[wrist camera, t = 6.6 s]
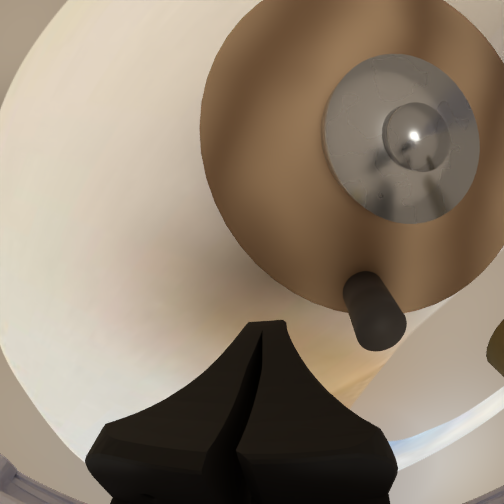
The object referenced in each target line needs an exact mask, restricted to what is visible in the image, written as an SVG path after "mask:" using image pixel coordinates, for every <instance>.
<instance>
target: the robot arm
mask: <svg viewBox="0 0 504 504" xmlns="http://www.w3.org/2000/svg"><path fill="white" fill-rule="evenodd" d="M85 463H86V466H87V468H88V470H89V471H90V473H91V474H92V476H93V477H94V478H95V479H96V480H97V481H98V482H99V484H100V485H101V486H102V487H103V488H104V489H105V490H106V491H107V492H108V493H109V494H110V495H111V496H112V497H113V498H112V501H111V503H110V504H390V501H389V494H388V493H389V491H390V489H391V487H392V484H393V482H394V480H395V478H396V476H397V471H398V466H397V462H396V459H395V456H394V454H393V451H392V449H391V447H390V445H389V443H388V441H387V439H386V438H385V436H384V434H383V432H382V431H381V429H380V428H378V427H377V426H375V425H373V424H371V423H370V422H368V421H366V420H364V419H362V418H361V417H359V416H358V415H356V414H355V413H354V412H352V411H351V410H350V409H348V408H347V407H345V406H344V405H343V404H342V403H341V402H340V401H338V400H337V399H336V398H335V397H334V396H333V395H332V394H330V393H329V392H328V391H327V390H326V389H325V388H324V387H323V386H322V385H321V383H320V382H319V381H318V380H317V379H316V378H315V377H314V375H313V374H312V373H311V372H310V370H309V369H308V368H307V366H306V365H305V363H304V362H303V360H302V359H301V357H300V356H299V354H298V352H297V350H296V349H295V347H294V345H293V343H292V341H291V339H290V336H289V334H288V331H287V326H286V322H285V321H284V320H275V321H260V322H248V323H247V324H246V326H245V327H244V328H243V329H242V331H241V332H240V333H239V335H238V336H237V337H236V338H235V340H234V341H233V342H232V343H231V344H230V346H229V347H228V348H227V349H226V350H225V351H224V352H223V354H222V355H221V356H220V357H219V358H218V359H217V360H216V361H215V362H214V363H213V364H212V365H211V366H210V367H209V368H208V369H207V370H206V371H204V372H203V373H202V374H201V375H200V376H198V377H197V378H196V379H195V380H193V381H192V382H191V383H189V384H188V385H187V386H185V387H184V388H182V389H181V390H179V391H177V392H176V393H174V394H173V395H171V396H170V397H168V398H166V399H165V400H163V401H161V402H159V403H157V404H155V405H153V406H151V407H149V408H147V409H145V410H143V411H140V412H138V413H136V414H133V415H130V416H128V417H125V418H122V419H119V420H116V421H113V422H110V423H107V424H105V426H104V427H103V429H102V430H101V432H100V434H99V435H98V437H97V439H96V440H95V442H94V444H93V446H92V447H91V449H90V451H89V453H88V454H87V456H86V459H85ZM0 504H87V503H84V502H81V501H79V500H77V499H74V498H72V497H69V496H67V495H65V494H62V493H60V492H58V491H56V490H54V489H52V488H49V487H47V486H45V485H43V484H41V483H39V482H37V481H35V480H33V479H32V478H30V477H28V476H26V475H24V474H22V473H21V472H19V471H17V469H16V468H15V467H14V465H13V464H12V463H11V462H10V461H9V460H8V459H7V458H6V457H5V456H3V455H2V454H0ZM463 504H504V485H503V486H501V487H499V488H497V489H495V490H493V491H491V492H489V493H487V494H484V495H482V496H480V497H478V498H475V499H473V500H471V501H468V502H466V503H463Z"/></svg>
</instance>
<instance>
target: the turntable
mask: <svg viewBox="0 0 504 504" xmlns="http://www.w3.org/2000/svg"><path fill="white" fill-rule="evenodd" d="M385 54H404V55H410V56H414V57H417V58H420V59H422V60H425V61H427V62H429V63H431V64H433V65H434V66H436V67H437V68H439V69H440V70H442V71H443V72H444V73H445V74H447V75H448V76H449V77H450V78H451V79H452V80H453V81H454V82H455V83H456V85H457V86H458V87H459V88H460V90H461V91H462V92H463V94H464V96H465V97H466V99H467V101H468V102H469V105H470V107H471V109H472V111H473V114H474V117H475V120H476V123H477V128H478V133H479V142H480V153H479V162H478V166H477V171H476V174H475V177H474V180H473V182H472V184H471V186H470V188H469V190H468V191H467V193H466V194H465V196H464V197H463V199H462V200H461V201H460V202H459V203H458V204H457V205H456V206H455V207H454V208H453V209H452V210H450V211H449V212H448V213H446V214H444V215H443V216H441V217H439V218H437V219H434V220H432V221H428V222H425V223H418V224H403V223H397V222H392V221H389V220H386V219H383V218H381V217H379V216H377V215H375V214H373V213H372V212H370V211H369V210H367V209H366V208H364V207H363V206H362V205H360V204H359V203H358V202H356V201H355V200H354V199H353V198H352V197H350V196H349V195H348V194H347V193H346V192H345V191H344V190H343V189H342V188H341V186H340V185H339V184H338V182H337V181H336V180H335V178H334V176H333V175H332V173H331V171H330V169H329V167H328V165H327V162H326V160H325V156H324V153H323V149H322V143H321V120H322V115H323V111H324V107H325V105H326V102H327V100H328V98H329V96H330V94H331V93H332V91H333V90H334V88H335V87H336V86H337V85H338V83H339V82H340V81H341V80H342V79H343V77H344V76H345V75H346V74H347V73H348V72H349V71H350V70H351V69H352V68H354V67H355V66H357V65H358V64H359V63H361V62H363V61H365V60H367V59H369V58H372V57H375V56H379V55H385ZM200 141H201V154H202V159H203V164H204V169H205V174H206V178H207V181H208V184H209V187H210V190H211V193H212V196H213V198H214V201H215V204H216V206H217V207H218V209H219V211H220V213H221V215H222V217H223V219H224V221H225V223H226V225H227V227H228V228H229V230H230V231H231V233H232V234H233V236H234V237H235V239H236V240H237V241H238V243H239V244H240V246H241V247H242V248H243V249H244V250H245V252H246V253H247V254H248V255H249V256H250V257H251V258H252V259H253V261H254V262H255V263H256V264H257V265H258V266H259V267H261V268H262V269H263V270H264V271H265V272H266V273H267V274H268V275H270V276H271V277H272V278H273V279H274V280H276V281H277V282H279V283H280V284H281V285H283V286H284V287H286V288H287V289H289V290H290V291H292V292H293V293H295V294H297V295H299V296H301V297H303V298H305V299H307V300H309V301H311V302H313V303H316V304H319V305H322V306H324V307H327V308H330V309H333V310H337V311H342V312H347V313H349V316H350V319H351V322H352V325H353V328H354V331H355V334H356V337H357V340H358V342H359V344H360V345H361V346H362V347H363V348H365V349H367V350H370V351H383V350H386V349H388V348H390V347H392V346H394V345H395V344H396V343H397V342H398V341H399V340H400V339H401V338H402V336H403V335H404V333H405V330H406V324H407V323H406V318H405V315H404V314H403V313H407V312H411V311H416V310H419V309H422V308H425V307H428V306H431V305H434V304H436V303H438V302H440V301H442V300H444V299H446V298H448V297H450V296H452V295H454V294H455V293H457V292H458V291H460V290H461V289H463V288H464V287H465V286H467V285H468V284H469V283H471V282H472V281H473V280H474V279H475V278H476V277H477V276H479V275H480V274H481V273H482V272H483V271H484V270H485V269H486V268H487V266H488V265H489V264H490V263H491V262H492V261H493V259H494V258H495V257H496V256H497V254H498V253H499V251H500V250H501V248H502V247H503V245H504V63H503V62H502V60H501V59H500V57H499V56H498V54H497V52H496V51H495V49H494V48H493V47H492V45H491V44H490V43H489V42H488V40H487V39H486V38H485V37H484V36H483V34H482V33H481V32H480V31H479V30H478V29H477V28H476V27H475V26H474V25H473V24H472V23H471V22H470V21H469V20H468V19H467V18H466V17H465V16H464V15H462V14H461V13H460V12H459V11H457V10H456V9H455V8H453V7H452V6H451V5H449V4H448V3H447V2H445V1H443V0H263V1H261V2H260V3H259V4H257V5H256V6H255V7H254V8H253V9H252V10H251V11H250V12H248V13H247V14H246V15H245V16H244V17H243V18H242V19H241V20H240V21H239V23H238V24H237V25H236V26H235V28H234V29H233V30H232V31H231V33H230V34H229V35H228V36H227V38H226V40H225V41H224V43H223V45H222V47H221V48H220V50H219V52H218V53H217V55H216V57H215V60H214V62H213V65H212V67H211V70H210V72H209V75H208V78H207V81H206V85H205V90H204V94H203V99H202V104H201V116H200Z"/></svg>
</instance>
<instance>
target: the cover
mask: <svg viewBox="0 0 504 504" xmlns="http://www.w3.org/2000/svg"><path fill="white" fill-rule="evenodd" d="M321 143H322V149H323V153H324V156H325V160H326V162H327V165H328V167H329V169H330V171H331V173H332V175H333V176H334V178H335V180H336V181H337V182H338V184H339V185H340V186H341V188H342V189H343V190H344V191H345V192H346V193H347V194H348V195H349V196H350V197H352V198H353V199H354V200H355V201H356V202H358V203H359V204H360V205H362V206H363V207H364V208H366V209H367V210H369V211H370V212H372V213H373V214H375V215H377V216H379V217H381V218H383V219H386V220H389V221H392V222H397V223H403V224H418V223H425V222H428V221H432V220H434V219H437V218H439V217H441V216H443V215H444V214H446V213H448V212H449V211H450V210H452V209H453V208H454V207H455V206H456V205H457V204H458V203H459V202H460V201H461V200H462V199H463V197H464V196H465V194H466V193H467V191H468V190H469V188H470V186H471V184H472V182H473V180H474V177H475V174H476V171H477V166H478V162H479V153H480V142H479V133H478V128H477V123H476V120H475V117H474V114H473V111H472V109H471V107H470V105H469V102H468V101H467V99H466V97H465V96H464V94H463V92H462V91H461V90H460V88H459V87H458V86H457V85H456V83H455V82H454V81H453V80H452V79H451V78H450V77H449V76H448V75H447V74H445V73H444V72H443V71H442V70H440V69H439V68H437V67H436V66H434V65H433V64H431V63H429V62H427V61H425V60H422V59H420V58H417V57H414V56H410V55H404V54H385V55H379V56H375V57H372V58H369V59H367V60H365V61H363V62H361V63H359V64H358V65H357V66H355V67H354V68H352V69H351V70H350V71H349V72H348V73H347V74H346V75H345V76H344V77H343V79H342V80H341V81H340V82H339V83H338V85H337V86H336V87H335V88H334V90H333V91H332V93H331V94H330V96H329V98H328V100H327V102H326V105H325V107H324V111H323V115H322V120H321Z"/></svg>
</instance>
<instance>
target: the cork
mask: <svg viewBox="0 0 504 504" xmlns="http://www.w3.org/2000/svg"><path fill="white" fill-rule="evenodd" d="M486 357H487V360H488V362H489V363H490V364H491V365H492V366H493V367H494V368H495V369H496V370H497V371H498V372H499V373H500V374H502V376H503V377H504V320H503V321H502V322H501V323H500V325H499V326H498V327H497V328H496V330H495V331H494V333H493V335H492V337H491V338H490V341H489V344H488V347H487V354H486Z"/></svg>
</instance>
